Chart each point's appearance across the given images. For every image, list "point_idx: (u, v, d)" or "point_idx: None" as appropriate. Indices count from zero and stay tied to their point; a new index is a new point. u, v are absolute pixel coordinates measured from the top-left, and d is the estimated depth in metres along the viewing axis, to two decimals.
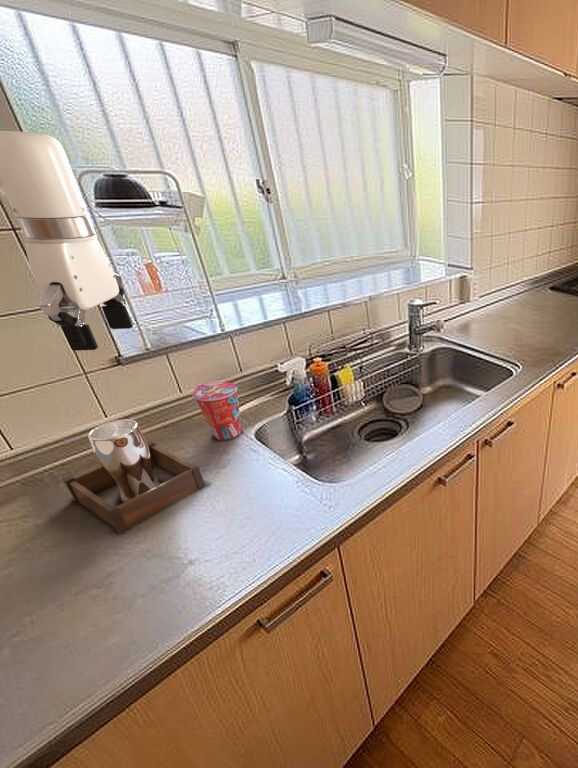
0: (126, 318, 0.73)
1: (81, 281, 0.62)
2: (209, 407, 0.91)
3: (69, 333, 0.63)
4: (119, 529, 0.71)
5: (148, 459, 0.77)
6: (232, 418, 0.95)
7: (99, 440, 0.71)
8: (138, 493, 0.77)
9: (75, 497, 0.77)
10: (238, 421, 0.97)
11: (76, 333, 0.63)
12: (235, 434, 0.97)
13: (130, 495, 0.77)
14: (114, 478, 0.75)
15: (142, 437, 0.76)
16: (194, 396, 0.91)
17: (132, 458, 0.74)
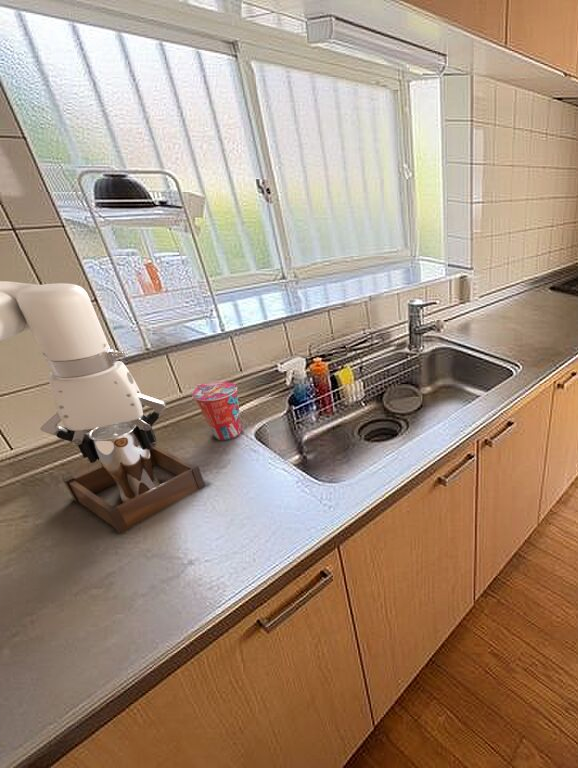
0: (144, 442, 0.76)
1: (68, 410, 0.67)
2: (209, 407, 0.91)
3: None
4: (119, 529, 0.71)
5: (148, 459, 0.77)
6: (232, 418, 0.95)
7: (99, 440, 0.71)
8: (138, 493, 0.77)
9: (75, 497, 0.77)
10: (238, 421, 0.97)
11: None
12: (235, 434, 0.97)
13: (130, 495, 0.77)
14: (114, 478, 0.75)
15: None
16: (194, 396, 0.91)
17: (132, 458, 0.74)
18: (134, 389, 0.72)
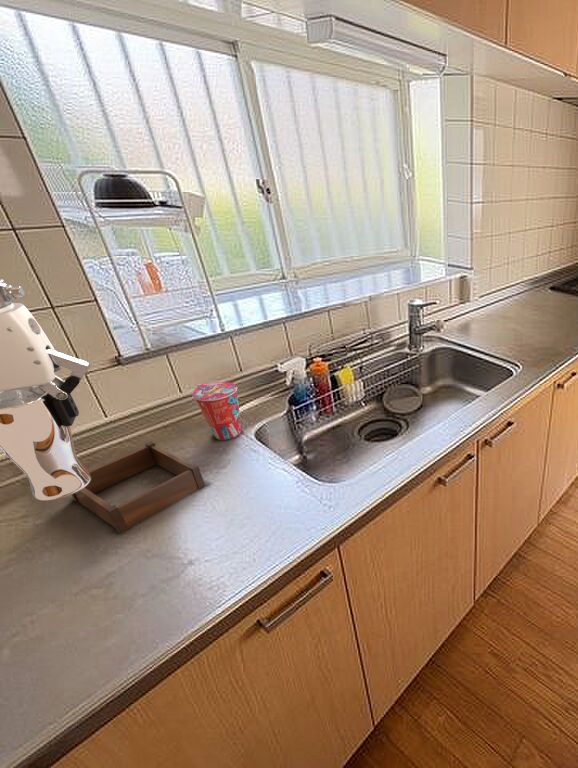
0: (59, 415, 0.56)
1: None
2: (209, 407, 0.91)
3: None
4: (119, 529, 0.71)
5: (67, 439, 0.58)
6: (232, 418, 0.95)
7: None
8: (54, 484, 0.58)
9: (75, 497, 0.77)
10: (238, 421, 0.97)
11: None
12: (235, 434, 0.97)
13: (43, 487, 0.58)
14: (18, 464, 0.56)
15: None
16: (194, 396, 0.91)
17: (41, 437, 0.55)
18: (40, 342, 0.53)
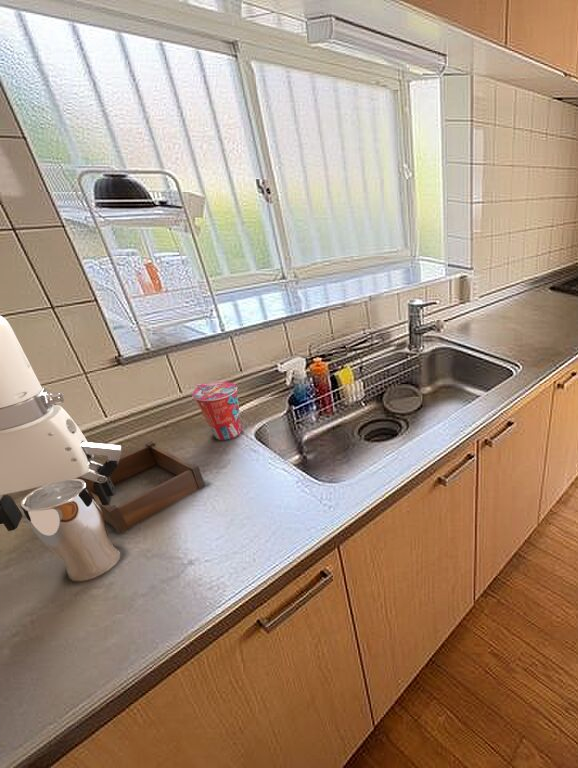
0: (99, 496, 0.61)
1: None
2: (209, 407, 0.91)
3: None
4: (119, 529, 0.71)
5: (101, 526, 0.63)
6: (232, 418, 0.95)
7: (34, 511, 0.56)
8: (88, 568, 0.63)
9: None
10: (238, 421, 0.97)
11: None
12: (235, 434, 0.97)
13: (78, 571, 0.63)
14: (57, 553, 0.61)
15: (92, 501, 0.62)
16: (194, 396, 0.91)
17: (78, 529, 0.60)
18: (76, 440, 0.58)
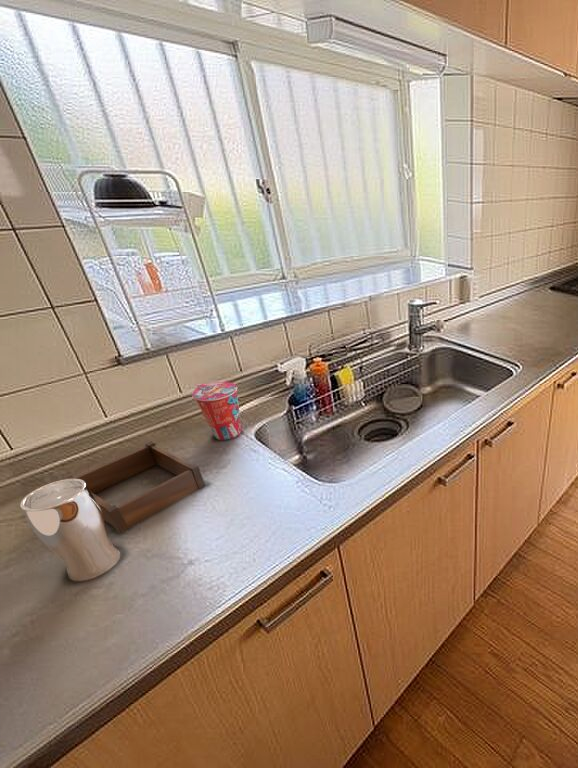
0: None
1: None
2: (209, 407, 0.91)
3: None
4: (119, 529, 0.71)
5: (101, 526, 0.63)
6: (232, 418, 0.95)
7: (34, 511, 0.56)
8: (88, 568, 0.63)
9: None
10: (238, 421, 0.97)
11: None
12: (235, 434, 0.97)
13: (78, 571, 0.63)
14: (57, 553, 0.61)
15: (92, 501, 0.62)
16: (194, 396, 0.91)
17: (78, 529, 0.60)
18: None
